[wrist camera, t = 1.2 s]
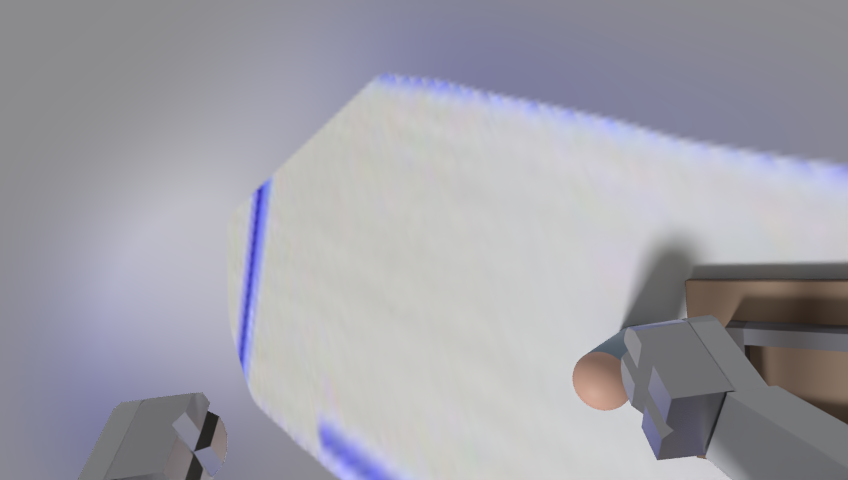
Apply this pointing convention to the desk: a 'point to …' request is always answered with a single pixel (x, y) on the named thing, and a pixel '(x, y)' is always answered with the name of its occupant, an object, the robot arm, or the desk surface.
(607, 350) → the peach-tipped grey cylinder
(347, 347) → the desk surface
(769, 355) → the jig
